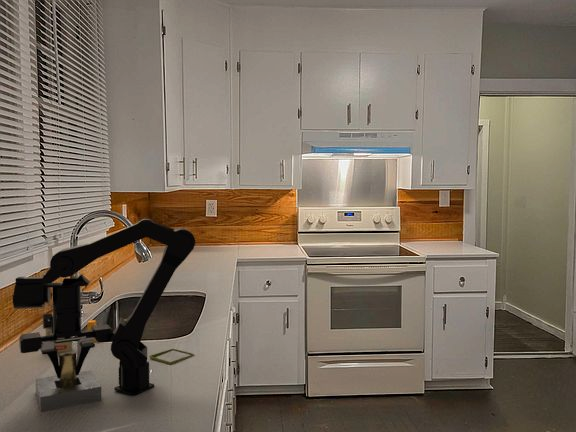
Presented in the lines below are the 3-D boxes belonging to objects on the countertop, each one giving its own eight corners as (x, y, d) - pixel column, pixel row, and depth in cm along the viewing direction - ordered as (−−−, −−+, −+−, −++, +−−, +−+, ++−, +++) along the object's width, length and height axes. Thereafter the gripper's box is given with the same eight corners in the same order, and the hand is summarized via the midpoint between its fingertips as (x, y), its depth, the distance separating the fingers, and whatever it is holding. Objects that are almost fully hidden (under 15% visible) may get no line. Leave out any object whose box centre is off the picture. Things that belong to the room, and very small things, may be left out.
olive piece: (173, 355, 147) (173, 348, 147) (195, 361, 142) (195, 353, 141) (148, 363, 140) (148, 356, 140) (170, 370, 135) (170, 362, 134)
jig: (101, 400, 114) (101, 386, 114) (40, 411, 108) (40, 397, 108) (91, 382, 124) (91, 370, 124) (35, 392, 118) (35, 379, 118)
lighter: (44, 354, 146) (43, 318, 146) (48, 350, 150) (47, 315, 149) (71, 353, 147) (70, 317, 147) (74, 349, 151) (73, 314, 150)
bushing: (80, 384, 117) (79, 353, 116) (66, 389, 114) (65, 357, 113) (69, 381, 118) (69, 350, 118) (56, 386, 115) (55, 354, 115)
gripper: (103, 296, 127) (104, 359, 128) (17, 304, 118) (18, 372, 118) (113, 304, 117) (114, 373, 118) (20, 314, 108) (21, 388, 109)
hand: (68, 376), depth 116 cm, fingers closed on bushing, 3 cm apart
